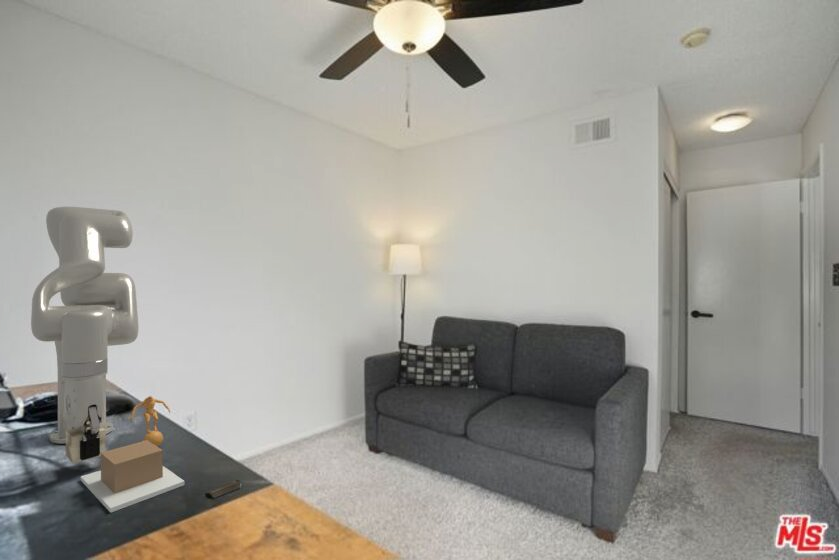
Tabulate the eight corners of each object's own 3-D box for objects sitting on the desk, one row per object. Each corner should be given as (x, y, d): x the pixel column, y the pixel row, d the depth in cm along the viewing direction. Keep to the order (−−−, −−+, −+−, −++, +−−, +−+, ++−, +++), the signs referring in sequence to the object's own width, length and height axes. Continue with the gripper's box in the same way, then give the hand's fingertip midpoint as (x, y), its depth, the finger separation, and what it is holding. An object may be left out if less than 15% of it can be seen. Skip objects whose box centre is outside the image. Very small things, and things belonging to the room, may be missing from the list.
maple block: (65, 455, 87) (65, 430, 87) (97, 447, 92) (97, 423, 91) (73, 463, 84) (72, 437, 84) (105, 454, 88) (105, 429, 88)
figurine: (135, 456, 94) (134, 403, 93) (127, 448, 98) (126, 397, 97) (175, 444, 100) (175, 395, 100) (166, 438, 104) (166, 390, 104)
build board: (80, 480, 83) (80, 449, 82) (148, 459, 92) (148, 431, 92) (110, 512, 72) (110, 477, 71) (184, 485, 81) (184, 453, 81)
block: (205, 500, 78) (203, 491, 78) (235, 485, 83) (234, 476, 83) (214, 504, 76) (213, 495, 76) (245, 488, 81) (244, 479, 81)
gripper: (51, 364, 89) (52, 447, 90) (73, 379, 79) (74, 473, 80) (94, 358, 95) (95, 436, 96) (120, 372, 85) (120, 459, 86)
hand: (85, 452), depth 88 cm, fingers closed on maple block, 5 cm apart
